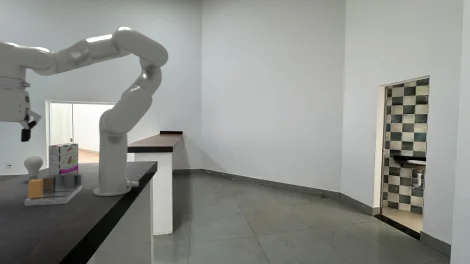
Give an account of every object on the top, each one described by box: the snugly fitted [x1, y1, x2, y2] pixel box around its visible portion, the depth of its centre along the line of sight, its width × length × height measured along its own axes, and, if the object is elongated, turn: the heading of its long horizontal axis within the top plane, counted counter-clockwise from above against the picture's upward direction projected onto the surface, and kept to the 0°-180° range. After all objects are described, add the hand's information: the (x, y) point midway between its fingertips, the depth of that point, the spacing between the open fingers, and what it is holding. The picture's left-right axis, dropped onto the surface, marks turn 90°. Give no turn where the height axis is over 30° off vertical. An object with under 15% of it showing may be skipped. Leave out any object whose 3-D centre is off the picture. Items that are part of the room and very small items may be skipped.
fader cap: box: [27, 178, 43, 198], centre depth 75 cm, size 3×2×5 cm
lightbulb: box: [23, 155, 44, 181], centre depth 99 cm, size 6×6×11 cm
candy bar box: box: [48, 142, 79, 175], centre depth 99 cm, size 11×5×16 cm, turn 179°
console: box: [24, 173, 84, 207], centre depth 82 cm, size 11×18×7 cm, turn 19°
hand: (5, 140), depth 72 cm, fingers open, 9 cm apart
